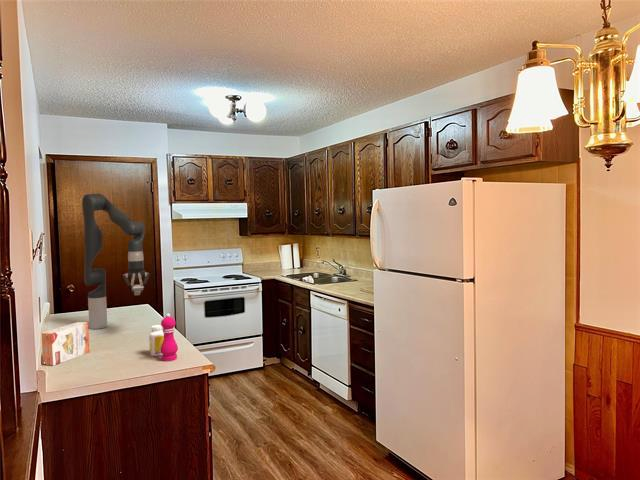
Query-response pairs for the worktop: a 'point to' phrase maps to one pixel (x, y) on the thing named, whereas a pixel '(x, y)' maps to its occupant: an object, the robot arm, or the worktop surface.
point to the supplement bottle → (156, 340)
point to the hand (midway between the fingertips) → (137, 292)
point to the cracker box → (65, 343)
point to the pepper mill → (168, 339)
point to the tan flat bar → (137, 289)
